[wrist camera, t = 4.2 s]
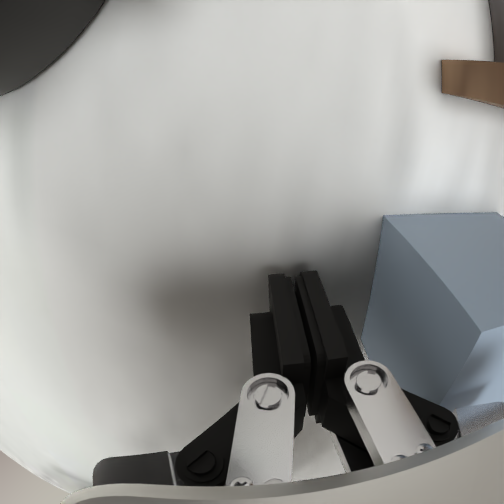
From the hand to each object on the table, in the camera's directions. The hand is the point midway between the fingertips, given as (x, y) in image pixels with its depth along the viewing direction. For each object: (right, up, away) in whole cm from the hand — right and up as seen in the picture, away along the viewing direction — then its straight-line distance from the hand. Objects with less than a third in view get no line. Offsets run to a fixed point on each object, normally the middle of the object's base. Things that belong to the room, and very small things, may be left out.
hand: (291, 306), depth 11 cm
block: (+6, +1, +1) cm, 6 cm away
